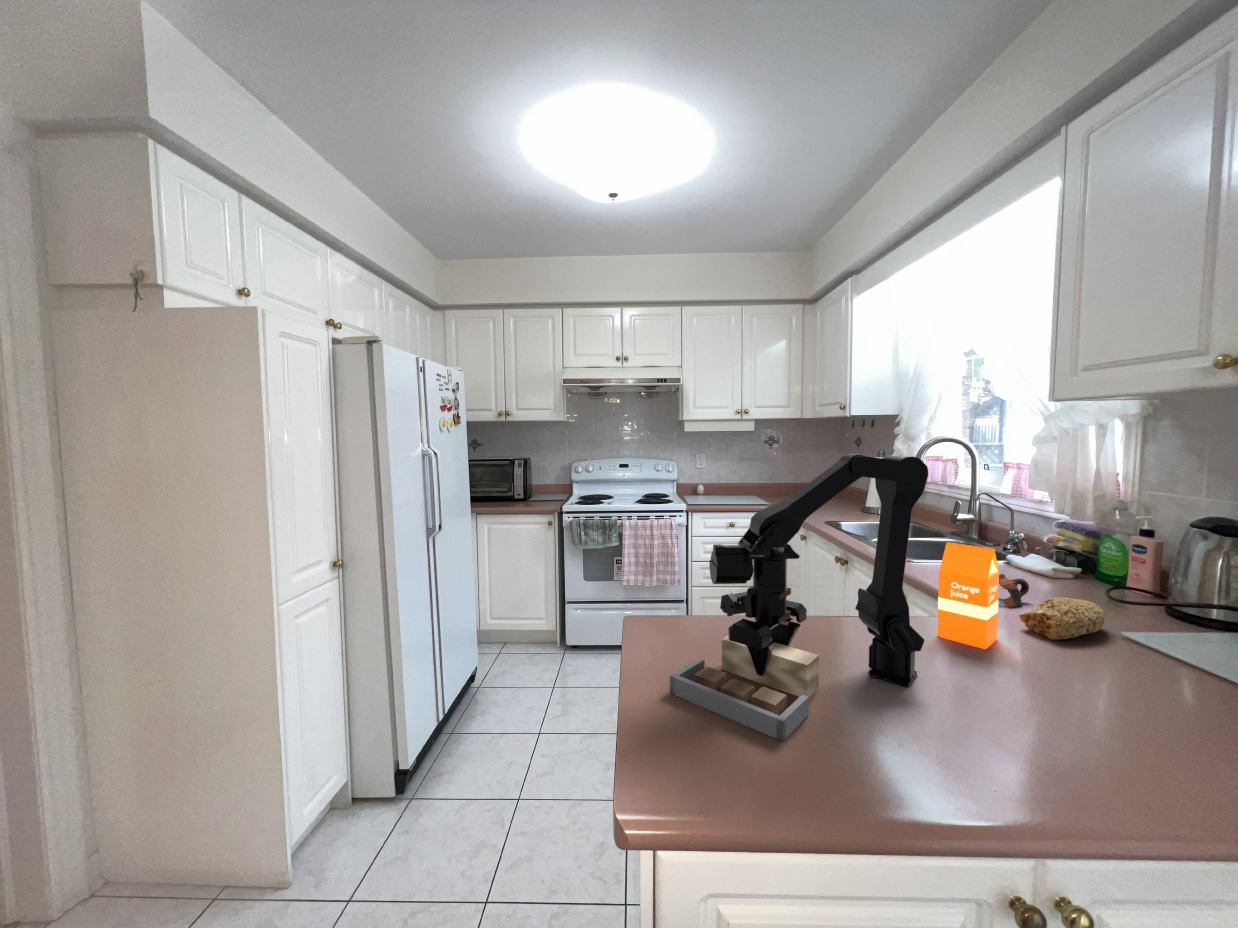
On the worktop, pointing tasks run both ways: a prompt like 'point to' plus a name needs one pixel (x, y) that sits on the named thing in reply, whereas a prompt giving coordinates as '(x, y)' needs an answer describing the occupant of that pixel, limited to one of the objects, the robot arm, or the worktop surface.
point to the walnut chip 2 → (770, 700)
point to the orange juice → (968, 595)
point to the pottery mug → (1013, 590)
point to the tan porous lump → (1064, 618)
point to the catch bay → (737, 704)
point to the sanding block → (775, 667)
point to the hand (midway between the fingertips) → (769, 668)
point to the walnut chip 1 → (711, 678)
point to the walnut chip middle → (738, 690)
